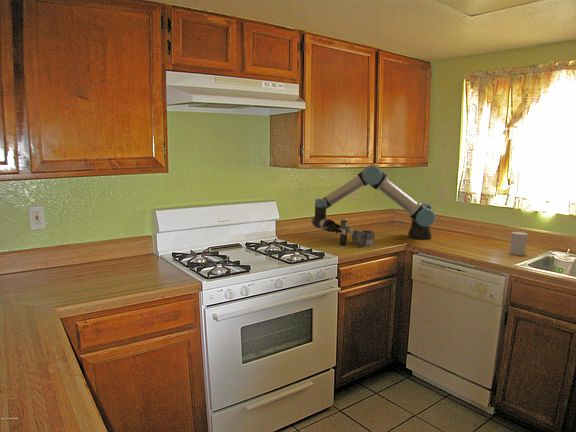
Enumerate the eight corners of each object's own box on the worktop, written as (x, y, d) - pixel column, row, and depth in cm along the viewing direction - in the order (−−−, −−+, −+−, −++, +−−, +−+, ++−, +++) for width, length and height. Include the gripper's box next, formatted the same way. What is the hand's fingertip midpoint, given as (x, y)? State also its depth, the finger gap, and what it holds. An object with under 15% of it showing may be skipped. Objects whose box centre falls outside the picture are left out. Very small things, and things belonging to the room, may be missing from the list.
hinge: (354, 241, 267) (355, 228, 266) (375, 244, 259) (376, 231, 258) (345, 245, 255) (345, 232, 254) (366, 248, 248) (367, 235, 246)
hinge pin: (341, 243, 260) (342, 217, 257) (348, 244, 257) (349, 218, 255) (338, 244, 256) (339, 218, 253) (344, 246, 253) (346, 219, 251)
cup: (528, 255, 241) (530, 234, 239) (514, 255, 241) (517, 234, 239) (519, 251, 249) (521, 231, 247) (506, 251, 249) (508, 231, 247)
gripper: (339, 229, 275) (360, 236, 255) (315, 231, 267) (336, 239, 247) (339, 218, 274) (361, 224, 254) (316, 220, 266) (336, 226, 246)
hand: (348, 231), depth 250 cm, fingers open, 4 cm apart
